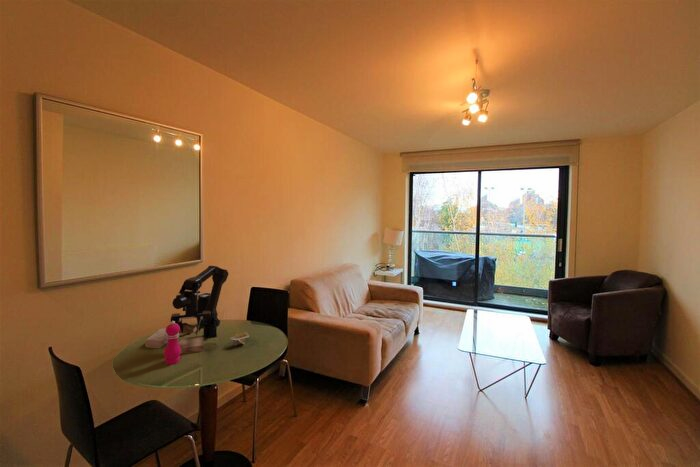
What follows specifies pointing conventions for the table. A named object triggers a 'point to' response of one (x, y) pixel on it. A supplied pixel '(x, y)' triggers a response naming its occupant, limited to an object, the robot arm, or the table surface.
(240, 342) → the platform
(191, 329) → the eagle figurine
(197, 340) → the plinth
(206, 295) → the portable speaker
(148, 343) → the brick
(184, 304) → the robot arm
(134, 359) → the table surface
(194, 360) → the table surface
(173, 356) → the pepper mill
